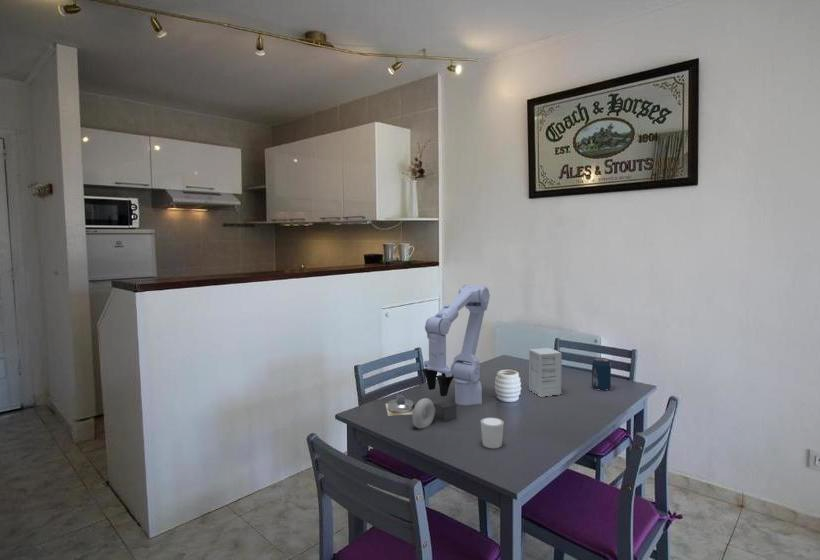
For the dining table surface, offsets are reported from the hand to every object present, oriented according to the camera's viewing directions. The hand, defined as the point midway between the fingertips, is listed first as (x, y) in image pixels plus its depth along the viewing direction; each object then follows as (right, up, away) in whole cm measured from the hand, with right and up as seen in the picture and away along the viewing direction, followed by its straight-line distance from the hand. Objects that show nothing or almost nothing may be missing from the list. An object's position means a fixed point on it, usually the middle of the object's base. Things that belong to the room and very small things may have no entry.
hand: (437, 392), depth 160 cm
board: (-7, -9, +9) cm, 14 cm away
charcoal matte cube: (+3, -10, -1) cm, 10 cm away
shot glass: (+15, -11, -18) cm, 26 cm away
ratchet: (-7, -8, +9) cm, 14 cm away
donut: (-5, -10, -6) cm, 13 cm away
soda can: (+67, -6, +31) cm, 74 cm away
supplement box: (+43, -7, +27) cm, 51 cm away
